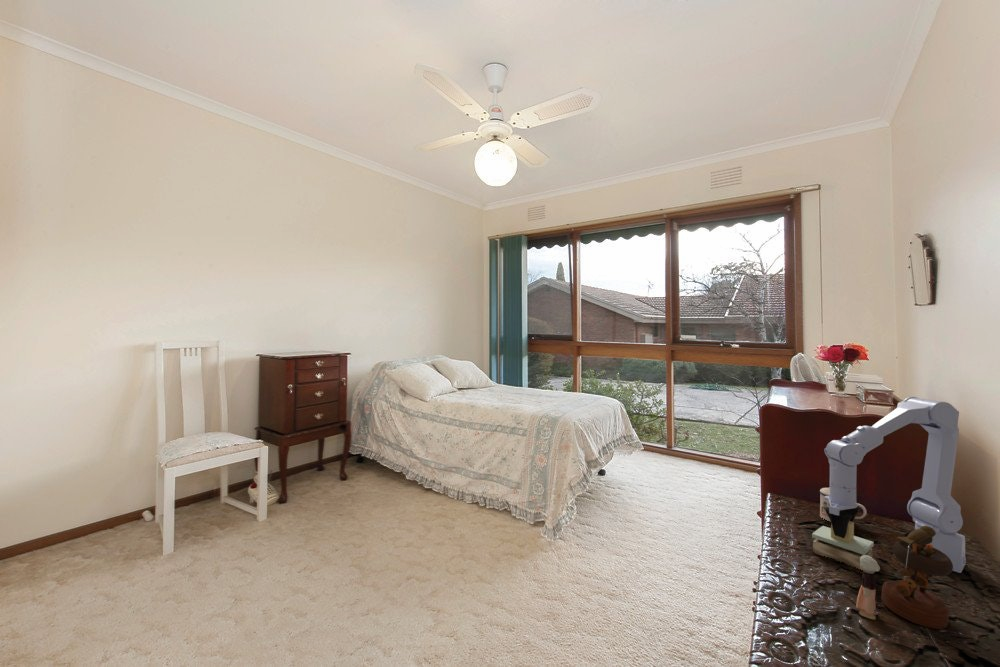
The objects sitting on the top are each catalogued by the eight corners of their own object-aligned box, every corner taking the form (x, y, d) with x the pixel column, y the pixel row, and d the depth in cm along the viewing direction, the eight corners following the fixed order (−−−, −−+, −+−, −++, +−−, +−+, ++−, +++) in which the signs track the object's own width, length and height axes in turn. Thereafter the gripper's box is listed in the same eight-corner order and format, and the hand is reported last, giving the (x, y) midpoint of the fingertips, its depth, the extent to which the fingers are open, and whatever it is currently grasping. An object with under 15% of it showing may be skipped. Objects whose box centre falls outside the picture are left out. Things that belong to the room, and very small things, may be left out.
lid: (873, 547, 112) (873, 525, 112) (864, 557, 107) (864, 534, 107) (822, 530, 121) (822, 510, 121) (811, 538, 116) (812, 517, 116)
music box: (941, 641, 83) (943, 541, 83) (871, 609, 92) (872, 520, 92) (961, 614, 91) (962, 523, 91) (894, 587, 100) (895, 505, 100)
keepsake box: (872, 561, 112) (872, 549, 112) (863, 570, 107) (863, 558, 107) (822, 544, 121) (822, 533, 121) (812, 552, 116) (812, 541, 116)
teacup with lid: (815, 519, 137) (816, 484, 137) (823, 511, 143) (823, 478, 143) (863, 532, 128) (863, 495, 128) (869, 524, 134) (869, 488, 134)
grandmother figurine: (855, 601, 95) (856, 546, 95) (878, 609, 92) (878, 552, 92) (856, 619, 89) (857, 561, 89) (880, 627, 86) (881, 567, 86)
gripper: (833, 475, 122) (833, 521, 122) (815, 486, 113) (815, 535, 113) (864, 483, 116) (864, 531, 116) (848, 494, 107) (847, 546, 107)
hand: (842, 534), depth 114 cm, fingers closed on lid, 4 cm apart
